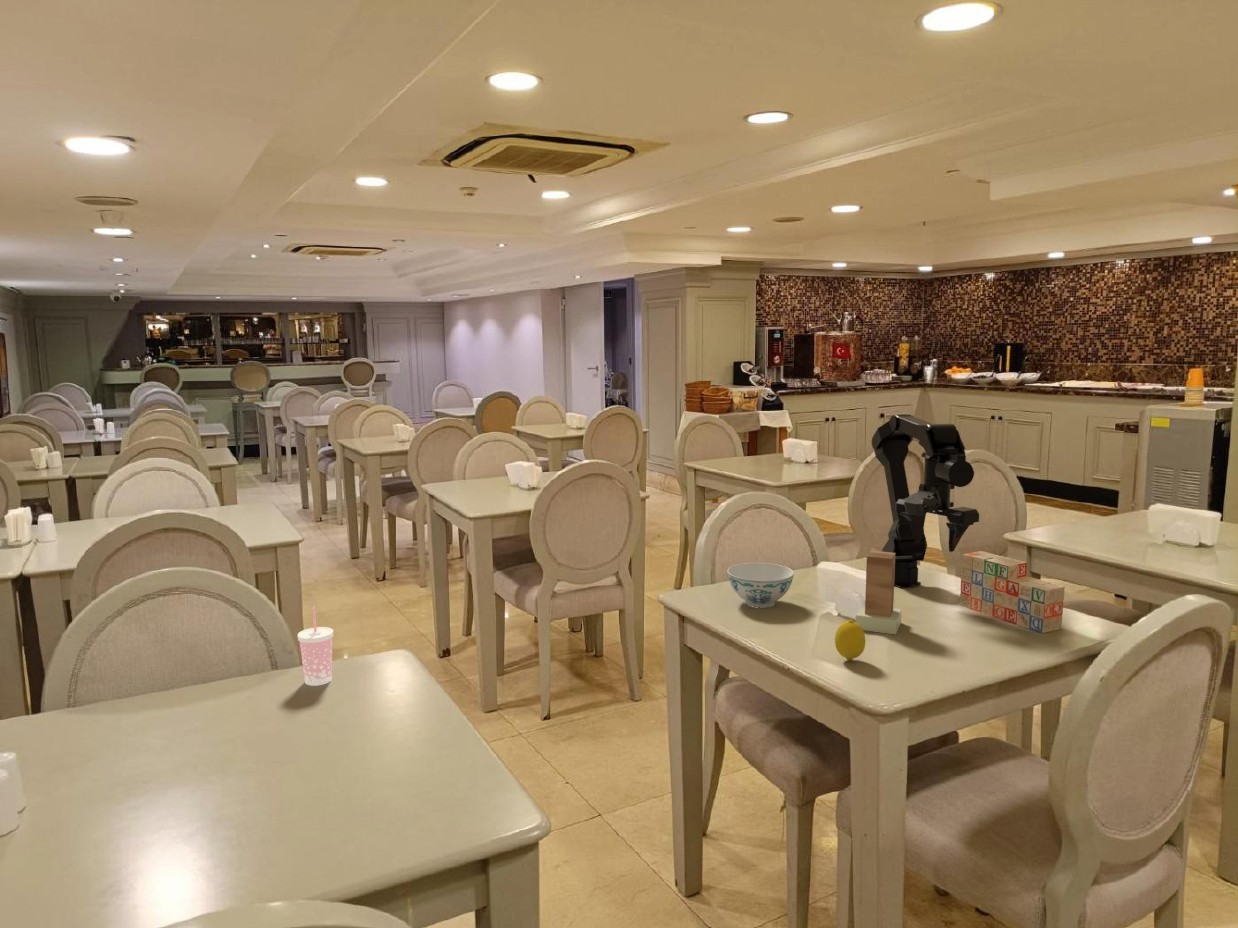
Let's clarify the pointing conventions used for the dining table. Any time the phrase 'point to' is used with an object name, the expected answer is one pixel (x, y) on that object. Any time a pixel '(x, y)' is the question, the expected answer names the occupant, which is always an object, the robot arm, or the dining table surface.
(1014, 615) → the stack of blocks
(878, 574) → the pillar
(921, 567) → the dining table surface
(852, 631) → the lemon
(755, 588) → the chinaware
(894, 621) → the base slab
